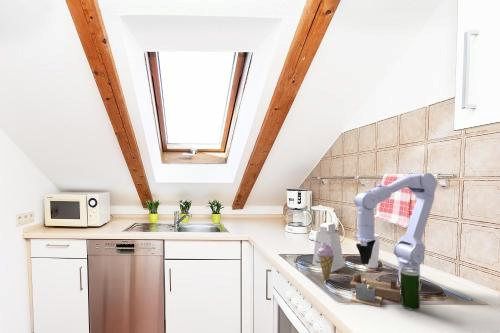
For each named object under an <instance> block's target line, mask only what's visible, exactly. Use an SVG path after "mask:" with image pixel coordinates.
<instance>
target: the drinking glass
mask: <svg viewBox="0 0 500 333" xmlns="http://www.w3.org/2000/svg"><path fill="white" fill-rule="evenodd" d="M374 237H375V240H376V241H375V243H374V245H373V249H372V255H371V259H369V263H368V265H367V264H365V267H367V268H368V269H374V270H375V269H378V267H379V254H380V253H379V252H380V235H379V234H377V233H374Z"/></svg>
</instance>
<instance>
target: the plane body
mask: <svg viewBox="0 0 500 333" xmlns="http://www.w3.org/2000/svg"><path fill="white" fill-rule="evenodd" d="M358 283H362V284H369V285H373V286H376V296H378V297H382V299H387V300H390V301H391V300H392V301H396V302H401V287H400V285H398V284H397V280H396V279H390V283H388V282H383V281H378V280H372V279H371V280H370V279H367V278H362V275H361V274H360V273H353V277H352V279H351V281H350V284H349V286H350V288H355V289H356V286H357V284H358ZM350 288H349V289H350Z"/></svg>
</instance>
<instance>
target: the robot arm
mask: <svg viewBox="0 0 500 333" xmlns="http://www.w3.org/2000/svg"><path fill="white" fill-rule="evenodd" d="M437 185H438V181H437V178H435V175H433V174H432V173H430V172H429V173H428V172H426V173H408V174H405V175H403V176H402V177H400V178H398V179H396V180H395V181H392V182H391V183H388V184H387V185H386V184H379V183H378V184H376V187H374V188H372V189H367V190H366V192H360V193H359V192H358V193H357V195H356V196H355V199H354V200H353V202H354V205H355V206H356V210H357V234H355V235H354V238H356V239H357V240H359V241H360V243H356V244H355V246H356V249H357V250H358V252H359V257H360V261H361V264H362V265H366V264H367V265H368V263H369V259H371V255H372V249H373V245H374V243H375V241H376V240H375V237H374V234H375V208H376V207H377V206H378V205H379V204H380V203H382V202H384V201H386V200H388V199H390V198H391V197H392V194H394V193H396V192H398V191H401V190H403V189H406V188H407V189H408V190H409V191H411V193H412V194H414V195H415V197H416V201H415V205H414V208H413V211H412V214H411V216H410V219H409V222H408V225H407V229H406V233H405V234H404V235H403V236H400V237H399V238H398V242H396V243H395V245H394V248H393V253H394V255H395V256H396V260H398V277H399V281H400V282H401V276H400V271H401V268H402V267H410V268H414V269H417V270H418V271H419V275H420V276H421V265H422V263H423V262H424V260H425V257H426V256H425V252H426V251H425V250H426V245H424V243H423V242H422V239H423V235H424V233H425V232H424V231H425V229H426V226H427V223H428V219H429V217H430V213H431V210H432V207H433V204H434V201H435V191H436V189H437Z"/></svg>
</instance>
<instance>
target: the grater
mask: <svg viewBox="0 0 500 333" xmlns="http://www.w3.org/2000/svg"><path fill="white" fill-rule="evenodd" d="M327 243H328V244H330V245H331V247H332V248H333V255H334V257H333V263H332V267H331V271H330V273H333V272H335V271H338V270H340V269H342V268H344V267H345V264H344V259H343V256H344V255H343V252H342V245H341V238H340V233H339V232H336V224H335V223H332V222H324V223H321V224H320V225H319V231H318V232H316V234H315V243H314V250H313V256H312V257H313V258H312V264H314V265H316V266H318V267H320V268H321V265H320V263H317V262H320V260H319V259H318V256H317V252H318V250H317V249H320V248H321V245H323V244H324V245H326V244H327ZM320 268H319V269H320Z"/></svg>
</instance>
